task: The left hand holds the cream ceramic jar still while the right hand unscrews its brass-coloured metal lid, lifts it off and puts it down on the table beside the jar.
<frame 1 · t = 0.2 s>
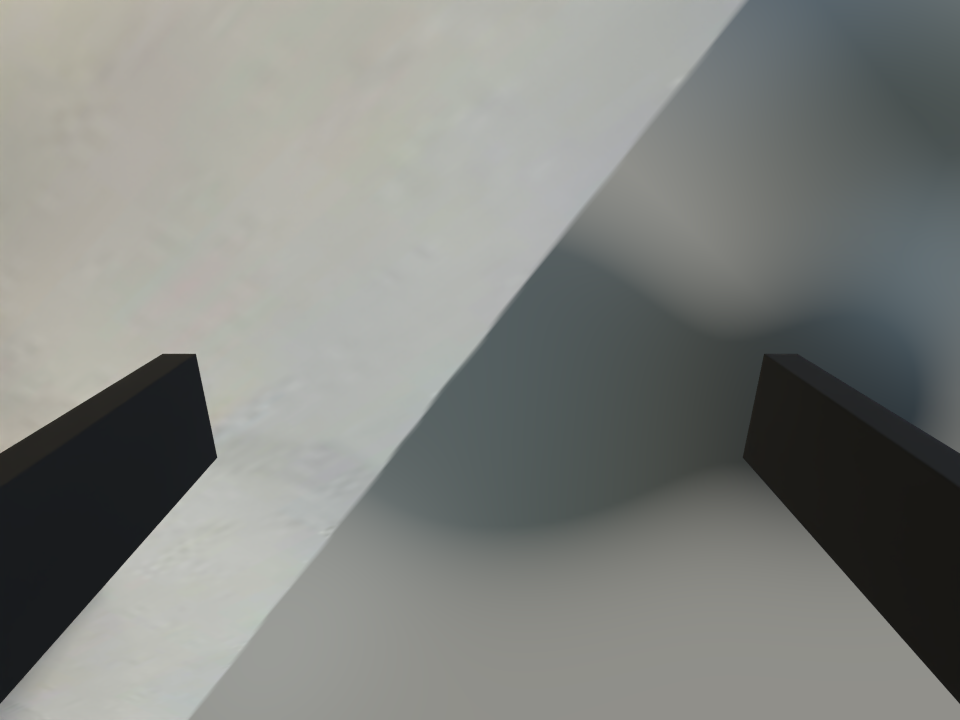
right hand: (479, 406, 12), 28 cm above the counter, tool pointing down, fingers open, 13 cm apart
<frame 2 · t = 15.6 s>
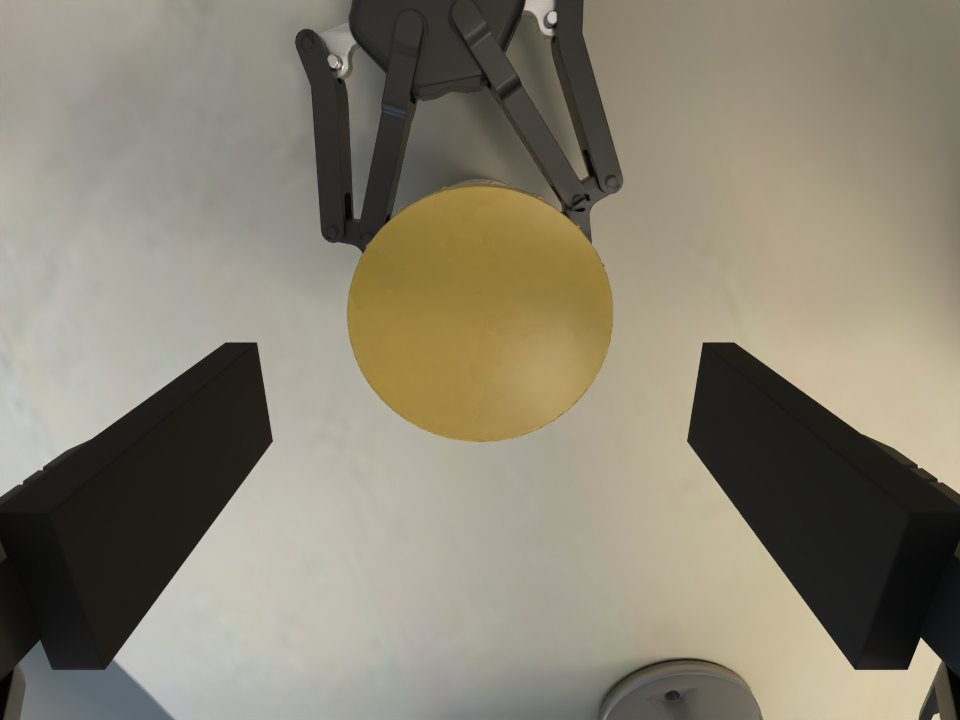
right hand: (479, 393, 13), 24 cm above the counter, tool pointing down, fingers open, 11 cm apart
left hand: (493, 339, 31), fingers closed on jar, 9 cm apart
lid: (480, 322, 19), point 18 cm above the counter, screwed on, not yet turned
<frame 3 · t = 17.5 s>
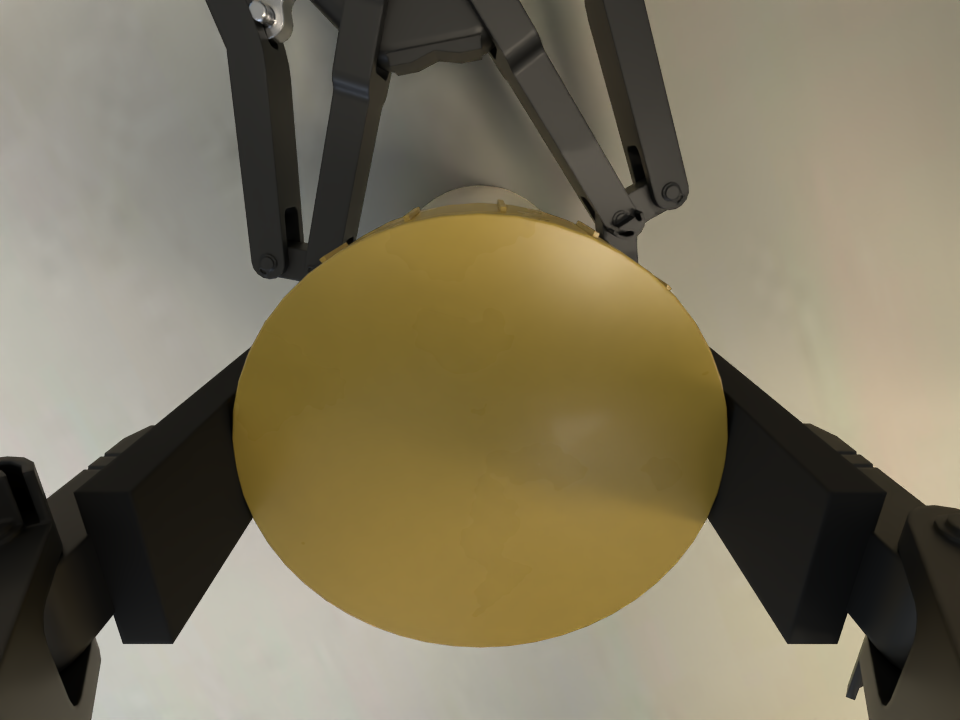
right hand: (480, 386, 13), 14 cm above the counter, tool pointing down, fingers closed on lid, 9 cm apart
jar: (480, 272, 27), on the counter, touching left hand
lid: (480, 457, 10), point 18 cm above the counter, screwed on, not yet turned, touching right hand
when the right hand's fingers open (15 cm above the counter, at t = 19.2 s): lid stays where it is, point 18 cm above the counter.
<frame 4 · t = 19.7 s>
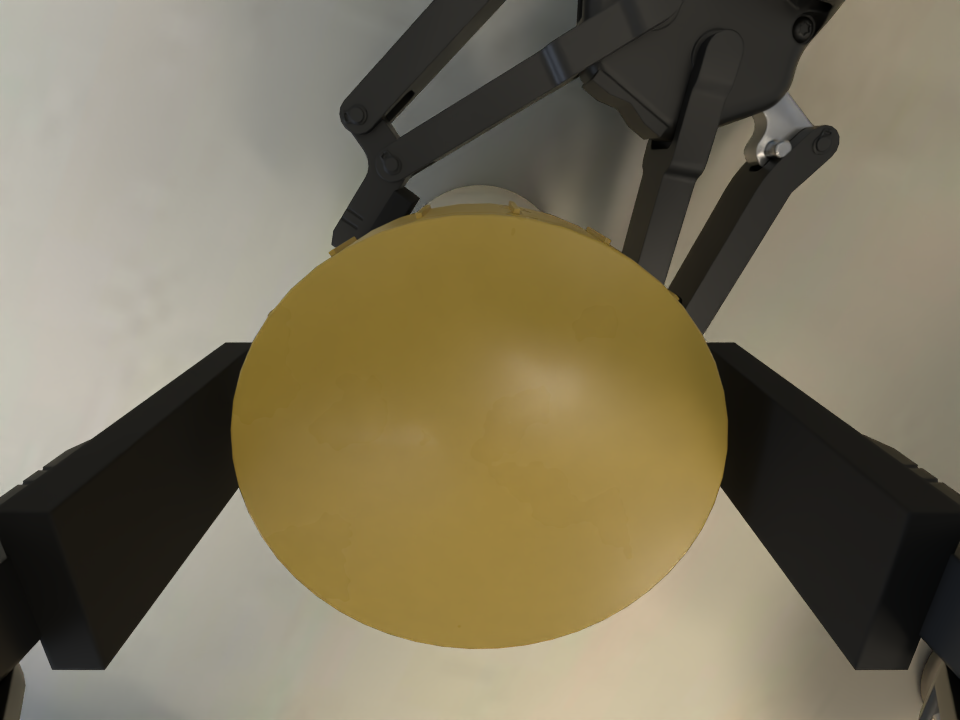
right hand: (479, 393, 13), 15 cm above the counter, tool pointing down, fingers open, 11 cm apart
left hand: (417, 387, 23), fingers closed on jar, 9 cm apart
jar: (479, 271, 27), on the counter, touching left hand
lid: (479, 458, 10), point 18 cm above the counter, turned 102° so far, risen 0.4 cm, still on its thread
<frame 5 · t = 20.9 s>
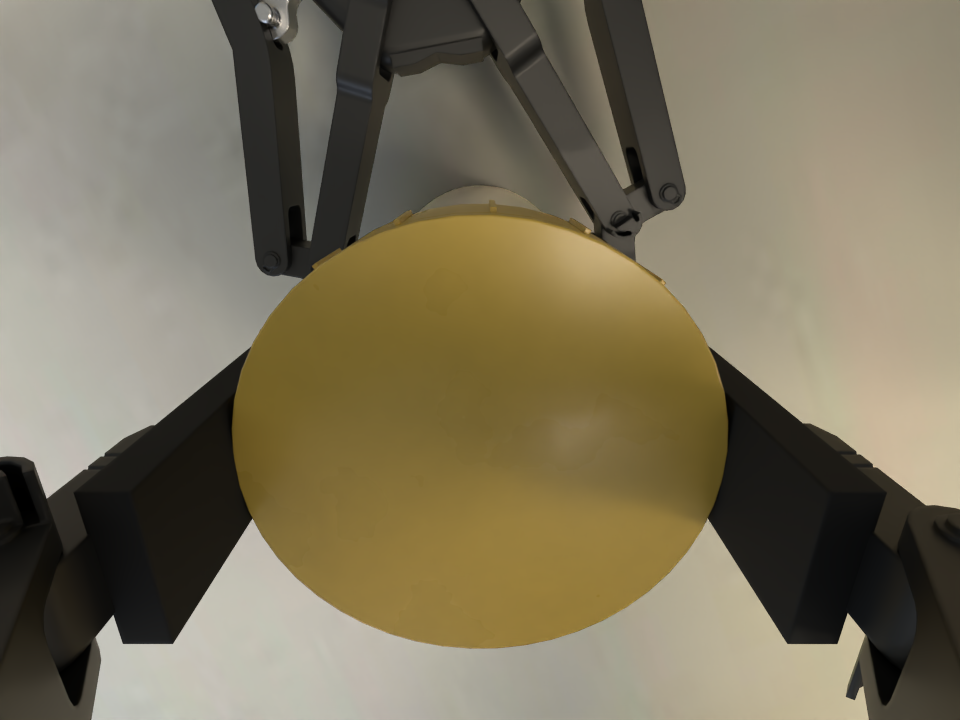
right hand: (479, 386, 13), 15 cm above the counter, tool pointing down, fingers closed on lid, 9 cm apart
jar: (480, 271, 27), on the counter, touching left hand
lid: (480, 458, 10), point 18 cm above the counter, turned 102° so far, risen 0.4 cm, still on its thread, touching right hand
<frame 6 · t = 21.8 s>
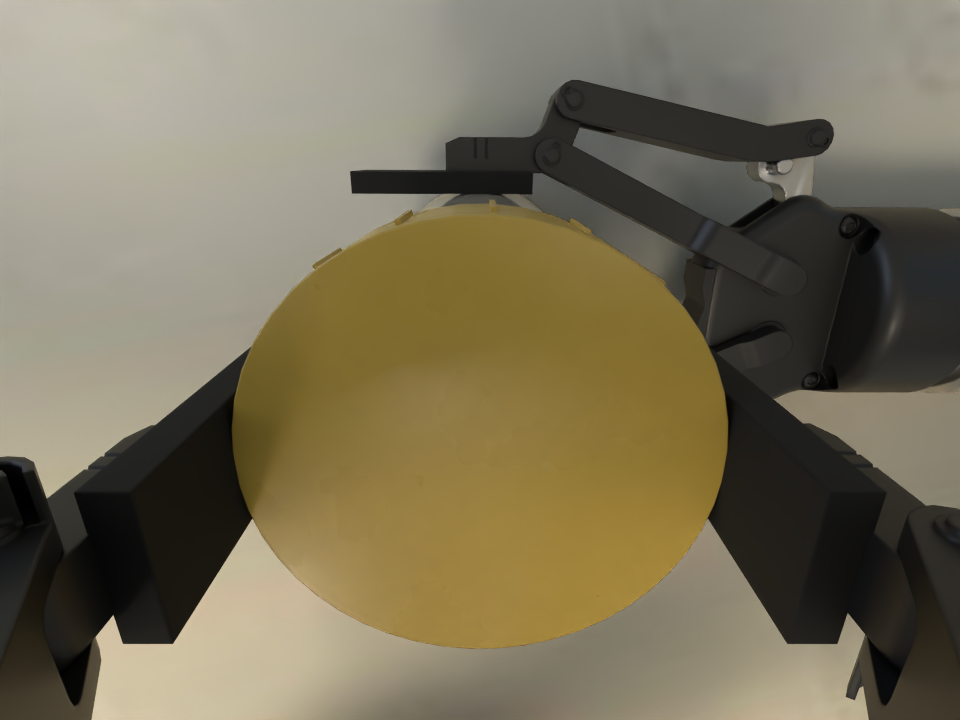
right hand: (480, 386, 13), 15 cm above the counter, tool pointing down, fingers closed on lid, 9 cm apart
left hand: (368, 299, 22), fingers closed on jar, 9 cm apart
jar: (480, 270, 28), on the counter, touching left hand
lid: (480, 458, 10), point 19 cm above the counter, off its thread, touching right hand
when the right hand's fingers open (0 cm above the counter, at t = 26.9 s): lid drops 2 cm, point 2 cm above the counter.
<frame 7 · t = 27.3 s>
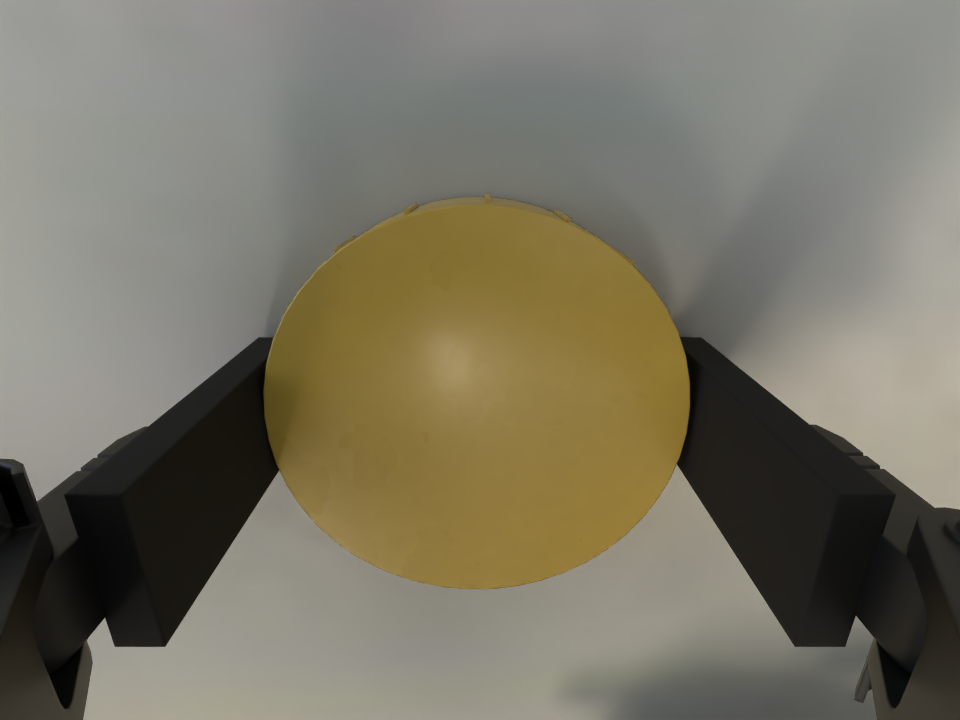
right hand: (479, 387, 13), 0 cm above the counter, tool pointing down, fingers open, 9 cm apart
lid: (477, 417, 12), point 2 cm above the counter, off its thread, touching right hand
when the left hand's fingers open (6 cm above the counter, at t = 28.5 s): jar stays where it is, on the counter.
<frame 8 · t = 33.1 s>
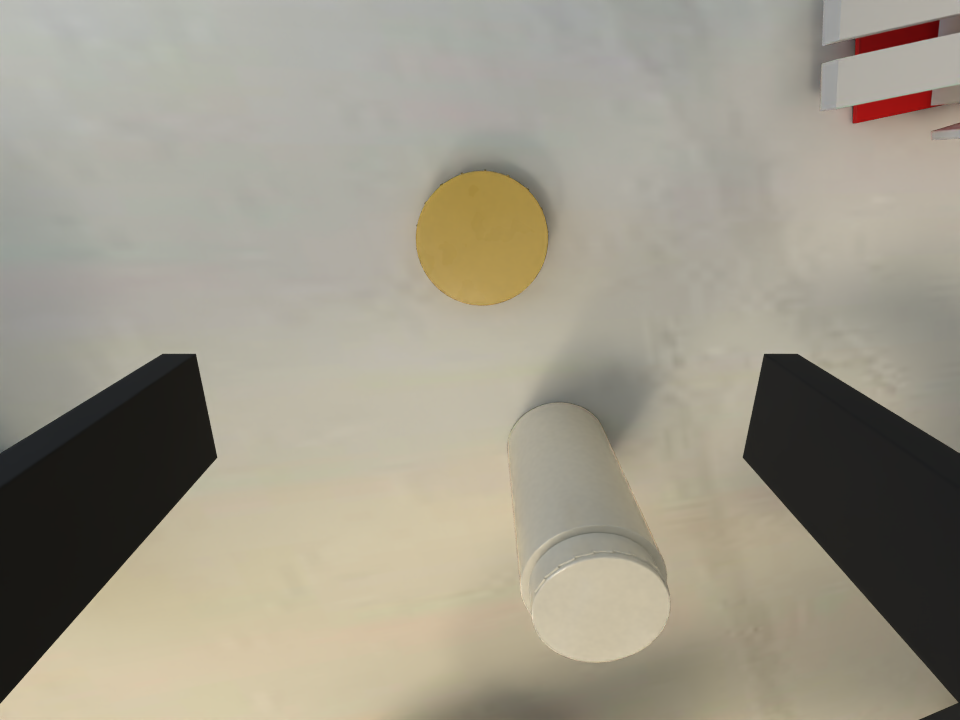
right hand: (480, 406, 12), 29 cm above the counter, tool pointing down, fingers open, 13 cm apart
jar: (556, 446, 45), on the counter
lid: (482, 240, 37), point 2 cm above the counter, off its thread
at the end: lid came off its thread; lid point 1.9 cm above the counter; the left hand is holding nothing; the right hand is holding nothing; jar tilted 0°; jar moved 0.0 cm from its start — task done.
